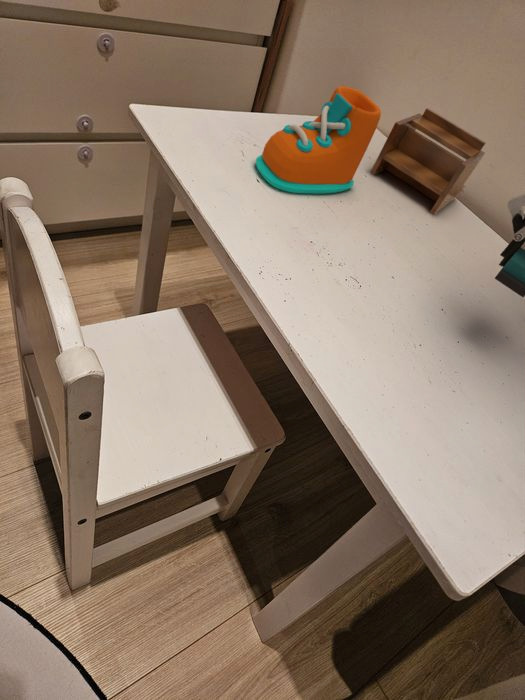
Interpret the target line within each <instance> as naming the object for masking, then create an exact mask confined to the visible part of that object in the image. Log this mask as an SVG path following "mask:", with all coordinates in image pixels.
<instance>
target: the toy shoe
mask: <svg viewBox="0 0 525 700" xmlns="http://www.w3.org/2000/svg"><path fill="white" fill-rule="evenodd" d="M320 110H321V111H320V114H319V115H318V116H317V117H316V118H315V119H314V120H306V121H304V122H303V123H302V125H298V124H287V125H285V126H284V127H283V129H281V130H279V131H276V132H275V133H274V134H272V135H271V136H270V137H269V139H268V140H267V141H266V143H265V144H264V147H263V150H262V153H261V154H260V155H258V156H256V159H255V166H256V168H257V171H258V172H259V173H260V175H261V177H262V178H263V179H264V180H265V181H266V182H267V183H268V184H269V185H271V186H272V187H273V188H275V189H278V190H280V191H283V192H286V193H293V194H306V195H309V194H310V195H311V194H312V195H316V194H317V195H318V194H319V195H321V194H323V195H324V194H334V193H341V192H345V191H347V190H349V189H351V188H352V187H353V186H354V185H355V182H354V177H355V175H356V172H357V171H358V168H359V166H360V164H361V162H362V161H363V158H364V156H365V153H366V152H367V150H368V147H369V145H370V143H371V141H372V139H373V137H374V134H375V133H376V130H377V129H378V125H379V123H380V120H381V115H382V111H381V109H380V107H379V106H378V105H377V104H376V103H375V102H374V101H373V100H372V99H370V97H368V96H367V95H366V94H365V93H363V92H362V91H361V90H358V89H357V88H353V87H349V86H344V85H343V86H338V87H336V88H335V90H334V91H333V93H332V95H331V97H330V98H329V100H328V101H327V102H325V103H324V104H323V106H322V107H321V109H320Z"/></svg>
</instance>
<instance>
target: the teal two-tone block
mask: <svg viewBox="0 0 525 700" xmlns="http://www.w3.org/2000/svg"><path fill="white" fill-rule="evenodd" d="M494 280H496V281H497V282H499V283H500V284H502V285H503V286H505V287H507V288H508V289H509V290H511V291H512V292H514V293H516V294H517V295H518V296H520V297H521V298H524V297H525V249H524V248H522V247H521V248H520V249H519V250H518V251H517V252H516V253H515V254H514V255H513V256H512V258H511V259H510V260H509V261H508V262H507V263H506V264H505V266H504V267H503V266H502V268H501V269H500V271H499V272H498V273H497V274H496V276H495V277H494Z"/></svg>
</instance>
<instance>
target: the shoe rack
mask: <svg viewBox="0 0 525 700" xmlns="http://www.w3.org/2000/svg"><path fill="white" fill-rule="evenodd" d="M416 130H418V131H419V132H420V133H419V132H418V131H416ZM422 134H424V135H426V136H427V137H426V136H424V135H422ZM428 137H429V138H430V139H429V138H428ZM431 139H432V140H431ZM433 140H434V141H435V142H434V141H433ZM436 142H437V143H436ZM438 143H439V144H438ZM486 144H487V143H486V141H484V140H483V139H481V138H479V137H477V136H476V135H474V134H473V133H471V132H469V131H467V130H465V129H464V128H462V127H461V126H459V125H457V124H456V123H453V122H452V121H451V120H449V119H447V118H445V117H444V116H442V115H440V114H438V113H437V112H436V111H434V110H432V109H430V108H429V107H426V109H425V110H424V112H423V113H417V114H414V115H411V116H409V117H406V118H403V119H401V120H398V121H396V122H395V123H394V124H393V126H392V128H391V130H390V132H389V134H388V136H387V138H386V141H384V144H383V146H382V148H381V150H380V152H379V154H378V156H377V158H376V160H375V162H374V164H373V166H372V168H371V169H370V172H369V173H370V174H371V175H373V176H375V175H377V174H380V173H381V172H383V171H385V170H386V171H387V172H389V173H391V174H393V175H394V176H395V177H397V178H398V179H400V180H402V181H403V182H405V183H406V184H407V185H409V186H411V187H412V188H414V189H415V190H417V191H418V192H420V193H422V194H423V195H425V196H426V197H428V198H429V199H430V200H432V201H434V202H435V203H434V204H433V206H432V208H431V209H430V210H429V213H430V214H431V215H433V216H434V215H435V214H437V213H438V212H439V211H441V210H442V209H443V208H445V207H446V206H447V205H448V204H450V203H451V202H452V201H454V200H455V198H456V197H457V195H458V194H459V193H460V191H461V189H462V188H463V186H464V185H465V184H466V182H467V180H468V179H469V178H470V176H471V175H472V173H473V172H474V171H475V169H476V168H477V166H478V165H479V163H480V161H481V160H482V159H483V157H484V156H485V154H486V152H484V151H483V148H484V147H485V145H486ZM441 145H442V146H441ZM443 147H445V148H447V149H448V150H447V149H445V148H443ZM449 150H450V151H451V152H450V151H449ZM452 152H453V153H452ZM454 153H455V154H456V155H455V154H454ZM457 155H458V156H459V157H458V156H457ZM460 157H461V158H460ZM462 158H463V159H462Z"/></svg>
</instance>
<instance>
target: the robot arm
mask: <svg viewBox="0 0 525 700" xmlns="http://www.w3.org/2000/svg"><path fill="white" fill-rule="evenodd" d="M524 206H525V193H523V194H519V195H518V196H515V197H512V198H511V199H509V200H508V202H507V204H506V207H507V210H508V212H509V214H510V217H511V223H512V230H513V237H512V240H511V241H510V242H509V243H508V245H507V246H506V247H505V248H504V249H503V251H502V252H501V253H500V254H499V256H501V257H502V260H501V261H500V262H499V263H498V266H500V267H502V268H503V267H504V266H505V264H506V263H507V262H508V261H509V260H510V259H511V258H512V256H513V255H514V254H515V253H516V252H517V251H518V250H519V249H520V248H522V247H523V245H524V244H525V209H524V210H523V207H524Z"/></svg>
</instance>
